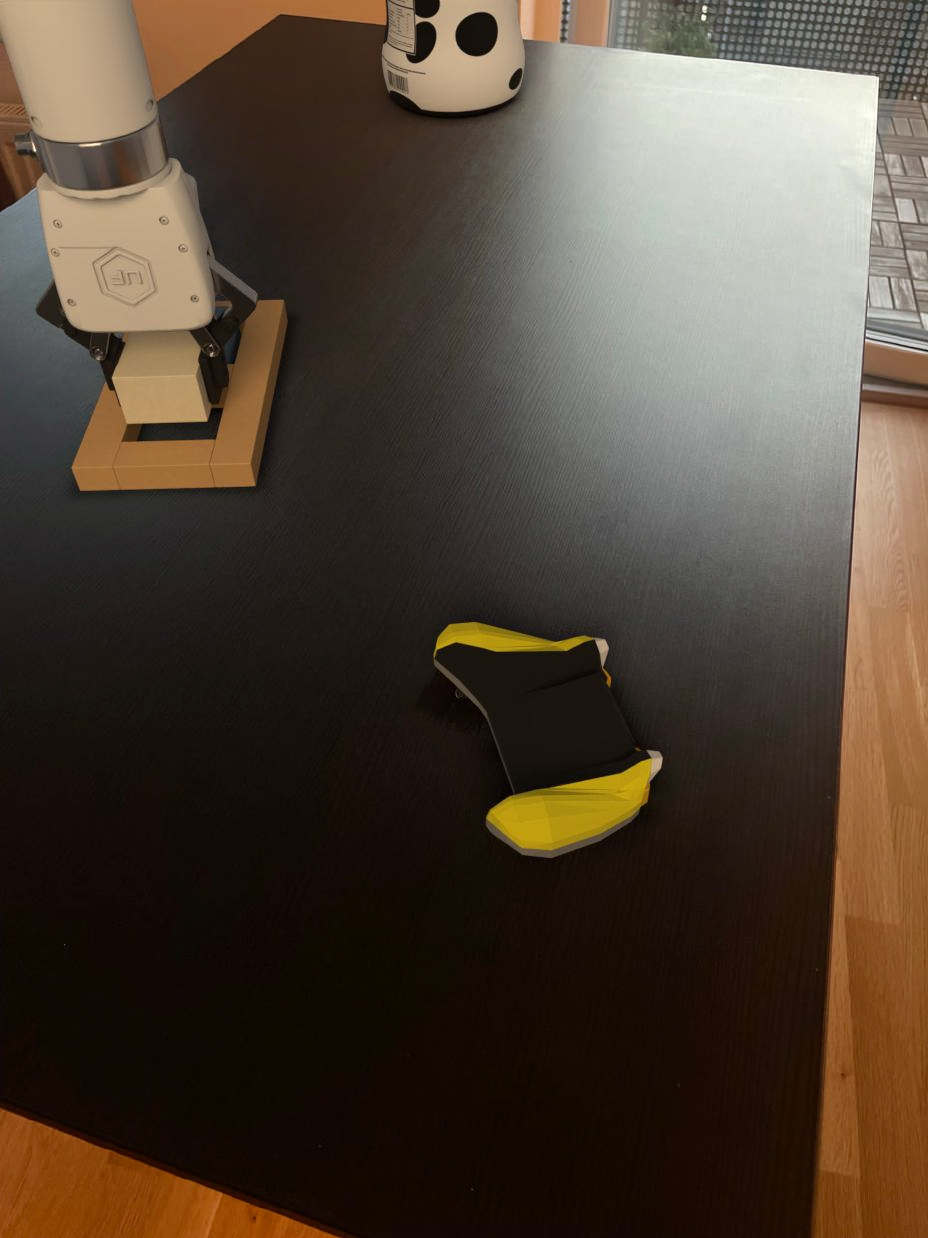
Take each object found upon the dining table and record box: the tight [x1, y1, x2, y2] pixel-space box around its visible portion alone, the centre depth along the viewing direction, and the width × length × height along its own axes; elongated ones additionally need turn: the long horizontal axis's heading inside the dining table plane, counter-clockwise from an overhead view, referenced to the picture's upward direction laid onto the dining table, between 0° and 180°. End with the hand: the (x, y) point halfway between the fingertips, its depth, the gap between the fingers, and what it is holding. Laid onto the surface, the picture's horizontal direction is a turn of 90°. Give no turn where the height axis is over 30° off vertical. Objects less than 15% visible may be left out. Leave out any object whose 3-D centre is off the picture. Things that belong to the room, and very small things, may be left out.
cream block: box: [112, 331, 212, 424], centre depth 74 cm, size 6×6×4 cm
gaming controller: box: [433, 621, 664, 859], centre depth 55 cm, size 15×6×10 cm
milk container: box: [381, 0, 526, 118], centre depth 118 cm, size 17×17×18 cm
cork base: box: [71, 299, 288, 492], centre depth 81 cm, size 13×23×2 cm, turn 1°
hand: (172, 393), depth 75 cm, fingers closed on cream block, 6 cm apart
